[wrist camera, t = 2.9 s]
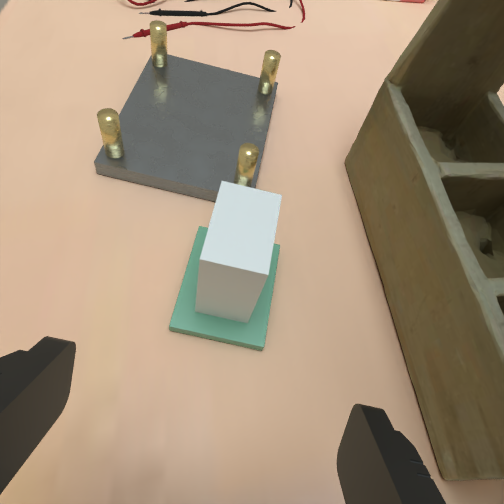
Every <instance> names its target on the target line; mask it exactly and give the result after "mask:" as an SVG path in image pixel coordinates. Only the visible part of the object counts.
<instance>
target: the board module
mask: <svg viewBox="0 0 504 504" xmlns="http://www.w3.org/2000/svg"><path fill="white" fill-rule="evenodd" d="M281 197H282V195H279V194H275V193H271V192H267V191H263V190H259V189H255V188H250V187H246V186H242V185H238V184H234V183H230V182H226V181H222V182H221V185H220V189H219V192H218V196H217V199H216V203H215V207H214V210H213V214H212V217H211V221H210V224H209V228H206V227H201V226H199V228H198V232H197V235H196V238H195V242H194V245H193V248H192V252H191V255H190V258H189V262H188V265H187V268H186V272H185V275H184V279H183V282H182V285H181V289H180V292H179V295H178V299H177V302H176V305H175V309H174V312H173V315H172V319H171V322H170V325H169V330H170V331H174V332H179V333H183V334H188V335H192V336H197V337H201V338H206V339H210V340H215V341H219V342H224V343H229V344H233V345H238V346H242V347H247V348H251V349H256V350H260V351H262V350H263V348H264V344H265V337H266V331H267V325H268V318H269V312H270V306H271V299H272V293H273V287H274V280H275V274H276V268H277V261H278V255H279V249H280V245H278V244H274V239H275V233H276V227H277V221H278V215H279V209H280V203H281Z"/></svg>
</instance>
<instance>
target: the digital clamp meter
mask: <svg viewBox="0 0 504 504" xmlns="http://www.w3.org/2000/svg"><path fill="white" fill-rule="evenodd" d="M128 1H129V2H130V3H132V4H134V5H137V6H144V5H147V4H150V3H155V1H157V0H149V1H148V2H145V3H136V2H134V1H132V0H128ZM190 1H193V0H187V1H184V2H190ZM299 1H300V3H301V6H302V10H303V19H302V22H303V21H304V20H305V10H304V6H303V3H302V0H299ZM292 3H293V2H292V0H291V3H290V6H289V8H290V7H291V6H292ZM247 4H250V5H255V6H257V7H260V8H262V9H265V10H267V11H270V12H276V11H274V10H270V9H268V8H265V7H263V6H261V5H258V4H255V3H251V2H243V3H240V4H237V5H234V6H231V7H229V8H226V9H224V10H221V11H218V12H215V13H206V12H202V10H201V11H200V12H199V11H167V10H161V9H159V10H157V11H151V12H150V13H142V12H141V13H139V14H151V15H160V16H161V15H163V16H201V17H203V16H207V15H217V14H220V13H222V12H225V11H228V10H230V9H233V8H235V7H238V6H241V5H247ZM302 22H301V23H302ZM188 25H215V26H258V25H269V26H274V27H278V28H282V29H291V28H294V27H295V26H293V27H285V26H281V25H277V24H273V23H266V22H261V23H252V24H231V23H209V22H190V23H187V22H182V21H180V23H176V24H170V25H166V28H167V31H169V30H174V29H178V28H182V27H183V28H184V27H185V26H188ZM148 35H150V29H148V30H143V29H141V30H140V32H137V33H135V34H133V36H130V37H125V38H123V39H127V38H132V37H143V36H144V37H146V36H148Z"/></svg>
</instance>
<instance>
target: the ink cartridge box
mask: <svg viewBox="0 0 504 504" xmlns="http://www.w3.org/2000/svg"><path fill="white" fill-rule="evenodd" d="M389 1H404V2H419V3H422V2H424V1H425V0H389Z"/></svg>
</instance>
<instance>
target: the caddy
mask: <svg viewBox="0 0 504 504" xmlns="http://www.w3.org/2000/svg"><path fill="white" fill-rule="evenodd" d="M503 83H504V0H439V1H438V2H437V4H436V5H435V6H434V8H433V9H432V11H431V12H430V14H429V15H428V17H427V18H426V20H425V21H424V23H423V24H422V26H421V27H420V29H419V30H418V32H417V33H416V35H415V36H414V38H413V39H412V40H411V42H410V43H409V45H408V46H407V48H406V49H405V50H404V52H403V53H402V55H401V56H400V57H399V59H398V61H397V62H396V64H395V65H394V67H393V69H392V70H391V72H390V73H389V74H388V76H387V77H386V78H385V80H384V82H383V84H382V86H381V88H380V89H379V91H378V93H377V96H376V98H375V100H374V102H373V105H372V107H371V109H370V111H369V113H368V115H367V117H366V119H365V121H364V123H363V125H362V127H361V129H360V131H359V133H358V136H357V139H356V140H355V142H354V143H353V145H352V147H351V150H350V152H349V154H348V155H347V157H346V159H345V165H346V169H347V172H348V176H349V179H350V182H351V185H352V188H353V191H354V194H355V197H356V200H357V203H358V206H359V209H360V212H361V216H362V219H363V222H364V226H365V229H366V233H367V236H368V239H369V242H370V245H371V248H372V251H373V254H374V257H375V260H376V263H377V266H378V269H379V272H380V276H381V279H382V282H383V284H384V289H385V294H386V297H387V301H388V304H389V307H390V310H391V313H392V316H393V320H394V323H395V326H396V330H397V333H398V336H399V340H400V343H401V346H402V349H403V353H404V356H405V359H406V363H407V366H408V370H409V374H410V377H411V380H412V383H413V386H414V388H415V391H416V395H417V398H418V401H419V405H420V408H421V411H422V414H423V418H424V421H425V424H426V427H427V430H428V433H429V437H430V440H431V443H432V447H433V450H434V453H435V456H436V459H437V463H438V466H439V469H440V472H441V474H442V476H443V479H445V480H448V481H465V480H483V479H504V106H503V104H502V103H501V101H500V99H499V97H498V95H497V92H498V91H499V89H500V87H501V86H502V85H503Z"/></svg>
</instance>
